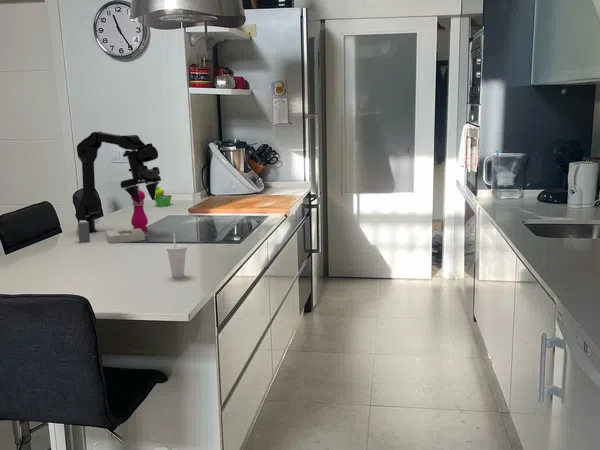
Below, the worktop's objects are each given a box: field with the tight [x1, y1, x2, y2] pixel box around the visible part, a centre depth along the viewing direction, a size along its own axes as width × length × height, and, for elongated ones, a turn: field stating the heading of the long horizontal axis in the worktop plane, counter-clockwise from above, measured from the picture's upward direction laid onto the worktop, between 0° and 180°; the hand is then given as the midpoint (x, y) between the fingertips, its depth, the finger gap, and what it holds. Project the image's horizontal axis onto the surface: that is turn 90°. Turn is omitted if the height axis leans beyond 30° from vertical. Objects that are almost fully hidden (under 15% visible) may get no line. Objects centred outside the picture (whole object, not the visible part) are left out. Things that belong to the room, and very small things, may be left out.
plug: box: [77, 220, 91, 244], centre depth 246 cm, size 4×4×9 cm
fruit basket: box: [154, 185, 173, 208], centre depth 339 cm, size 11×9×11 cm
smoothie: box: [166, 233, 188, 279], centre depth 191 cm, size 6×6×14 cm
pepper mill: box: [130, 186, 149, 233], centre depth 264 cm, size 7×7×20 cm
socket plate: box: [105, 228, 146, 244], centre depth 250 cm, size 12×14×3 cm
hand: (146, 201), depth 249 cm, fingers open, 9 cm apart
